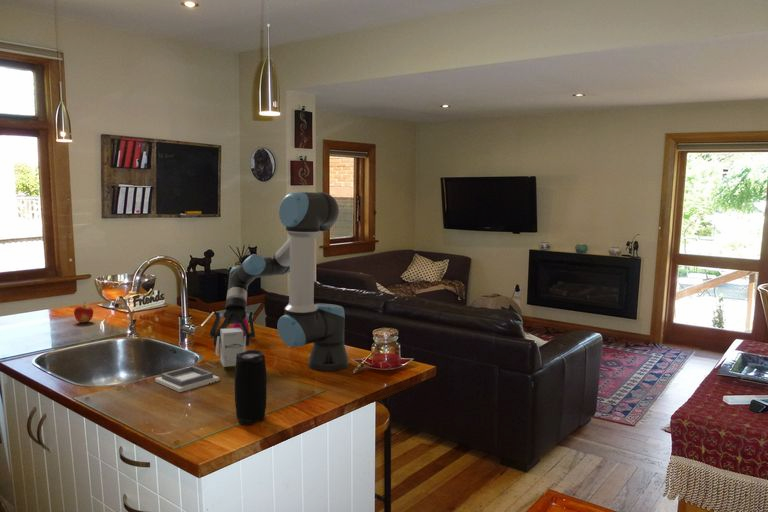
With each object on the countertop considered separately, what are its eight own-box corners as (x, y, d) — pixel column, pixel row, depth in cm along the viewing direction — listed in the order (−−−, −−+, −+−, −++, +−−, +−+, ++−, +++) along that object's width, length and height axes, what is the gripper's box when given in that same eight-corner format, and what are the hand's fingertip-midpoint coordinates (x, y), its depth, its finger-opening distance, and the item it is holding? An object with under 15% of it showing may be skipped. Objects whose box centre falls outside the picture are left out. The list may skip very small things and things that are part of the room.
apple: (82, 320, 275) (81, 300, 274) (97, 321, 274) (96, 300, 273) (70, 324, 267) (69, 303, 266) (86, 325, 266) (85, 304, 265)
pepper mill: (228, 339, 246) (227, 294, 244) (238, 335, 253) (238, 291, 250) (242, 341, 243) (241, 295, 241) (252, 337, 250) (251, 292, 248)
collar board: (219, 380, 194) (219, 372, 193) (179, 392, 182) (179, 384, 182) (194, 371, 203) (194, 363, 203) (155, 381, 191) (155, 373, 191)
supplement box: (223, 367, 203) (222, 333, 201) (220, 361, 210) (219, 328, 208) (244, 365, 206) (243, 331, 204) (240, 359, 213) (240, 326, 211)
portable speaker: (230, 425, 157) (229, 357, 155) (242, 412, 167) (241, 348, 164) (260, 427, 157) (260, 358, 154) (270, 414, 166) (269, 349, 164)
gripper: (265, 306, 222) (261, 357, 208) (209, 307, 220) (201, 359, 206) (264, 295, 216) (260, 347, 202) (206, 296, 214) (197, 349, 200)
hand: (230, 353), depth 204 cm, fingers closed on supplement box, 9 cm apart
